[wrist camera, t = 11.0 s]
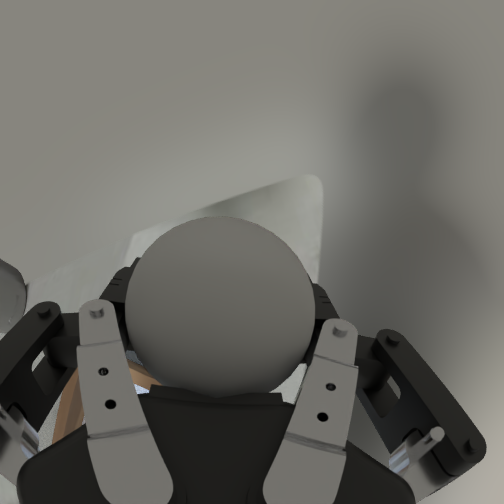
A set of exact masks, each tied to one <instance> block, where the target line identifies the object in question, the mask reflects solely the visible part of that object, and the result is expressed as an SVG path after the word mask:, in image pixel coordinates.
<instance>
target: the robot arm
mask: <svg viewBox="0 0 504 504" xmlns="http://www.w3.org/2000/svg"><path fill="white" fill-rule="evenodd" d="M140 259H141V258H139V257H137V258H136V259H135V261H134V262H133V264H132V265H131V267H124V268H122V269H121V270H119V271H118V272H117V273H116V274H115V276H114V277H113V279H112V280H111V281H110V283H109V284H108V286H107V287H106V289H105V290H104V292H103V293H102V295H101V296H100V298H99V299H96V300H91V301H88V302H86V303H85V304H83V305H82V306H81V308H80V310H79V313H61V310H60V307H59V305H58V304H57V303H55V302H50V301H46V302H41V303H39V304H37V305H35V306H34V307H33V308H32V309H31V310H30V311H28V312H27V313H26V314H25V315H24V316H23V313H24V309H25V303H26V289H25V283H24V280H23V278H22V275H21V273H20V272H19V271H18V270H17V269H16V268H14V267H13V266H11V265H9V264H8V263H6V262H4V261H3V260H1V259H0V332H1V333H7V334H6V335H5V336H4V337H3V338H2V339H1V340H0V474H1V475H3V476H4V477H5V478H6V479H7V480H9V481H10V482H11V483H13V484H14V485H15V486H16V488H17V495H18V499H19V503H20V504H416V503H417V502H419V501H421V500H422V499H424V498H425V497H427V496H429V495H431V494H433V493H435V492H436V491H438V490H440V489H441V488H443V487H444V486H446V485H448V484H449V483H451V482H452V481H453V480H455V479H457V478H458V477H459V476H461V475H462V474H464V473H465V472H466V471H468V470H469V469H471V468H472V467H473V466H475V465H476V464H477V463H479V462H480V461H481V460H482V459H483V458H484V456H485V454H486V442H485V439H484V438H483V436H482V435H481V433H480V432H479V430H478V429H477V428H476V426H475V425H474V423H473V422H472V421H471V419H470V418H469V417H468V415H467V414H466V413H465V411H464V410H463V409H462V407H461V406H460V405H459V403H458V402H457V401H456V399H454V397H453V396H452V394H451V393H450V392H449V390H448V389H447V388H446V387H445V385H444V384H443V383H442V382H441V380H440V379H439V378H438V377H437V375H436V374H435V373H434V372H433V371H432V369H431V368H430V367H429V366H428V364H427V363H426V362H425V361H424V360H423V359H422V357H421V356H420V355H419V354H418V352H417V351H416V350H415V349H414V348H413V347H412V345H411V344H410V343H409V342H408V341H407V340H406V338H405V337H404V336H403V335H401V334H400V333H398V332H396V331H394V330H390V329H383V330H380V331H379V332H378V333H377V336H376V338H370V337H365V336H361V335H358V332H357V330H356V328H355V327H354V326H353V325H352V324H351V323H349V322H347V321H345V320H342V319H340V318H339V316H338V314H337V312H336V311H335V308H334V307H333V305H332V303H331V301H330V299H329V298H328V296H327V294H326V292H325V290H324V289H323V288H322V287H320V286H319V285H318V284H313V283H312V281H311V279H310V277H309V275H308V277H309V280H310V283H311V286H312V288H313V295H314V301H315V323H314V329H313V333H312V337H311V341H310V345H309V347H308V349H307V351H306V353H305V355H304V357H303V359H302V361H301V363H300V364H304V363H306V364H307V369H306V372H305V374H304V377H303V380H302V382H301V385H300V388H299V390H298V393H297V396H296V398H295V401H294V403H293V404H291V403H287V402H283V399H282V394H281V393H245V394H239V395H233V396H227V397H220V398H215V397H210V396H207V395H203V394H200V393H197V392H193V391H190V390H187V389H184V388H177V387H169V386H162V385H155V384H151V387H150V391H149V393H143V394H137V393H136V390H135V386H134V383H133V380H132V377H131V373H130V370H129V366H128V363H127V359H126V355H125V353H126V350H131V351H134V349H133V346H132V344H131V342H130V339H129V335H128V331H127V326H126V321H125V300H126V295H127V290H128V285H129V281H130V279H131V277H132V274H133V272H134V269H135V267H136V265H137V263H138V262H139V260H140ZM307 274H308V273H307ZM22 316H23V317H22ZM42 350H43V352H44V355H45V356H44V357H43V359H42V360H41V361H40V363H39V364H38V365H37V367H36V368H35V369H34V371H33V372H32V364H33V361H34V360H35V359H36V357H37V356H38V355H39V354H40V352H41V351H42ZM77 367H78V374H79V383H80V390H81V398H82V404H83V410H84V416H85V421H86V423H85V424H84V425H82V426H80V427H79V428H77V429H76V430H74V431H73V432H71V433H70V434H68V435H66V436H65V437H63V438H62V439H60V440H58V441H57V442H55V443H54V444H52V445H50V446H49V447H47V448H46V449H44V450H42V451H41V452H40V449H39V437H38V434H37V433H38V431H39V430H40V428H41V426H42V424H43V423H44V421H45V419H46V417H47V416H48V414H49V412H50V410H51V409H52V407H53V405H54V404H55V402H56V400H57V399H58V397H59V396H60V394H61V392H62V391H63V389H64V387H65V386H66V384H67V383H68V381H69V380H70V378H71V376H72V375H73V373H74V372H75V370H76V369H77ZM390 376H392V378H393V379H394V381H395V382H396V384H397V385H398V386H399V388H400V392H401V395H400V399H398V397H397V396H396V394H395V393H394V392H393V390H392V388H391V387H390V386H389V384H388V383H387V381H388V379H389V378H390ZM355 393H356V394H357V396H358V398H359V400H360V401H361V403H362V405H363V406H364V408H365V410H366V412H367V414H368V415H369V417H370V419H371V421H372V422H373V424H374V426H375V428H376V430H377V431H378V433H379V435H380V437H381V438H382V440H383V442H384V444H385V446H386V447H387V449H388V451H389V453H390V458H389V464H390V466H389V467H388V468H387V467H385V466H384V465H382V464H381V463H379V462H378V461H376V460H375V459H374V458H372V457H371V456H369V455H368V454H366V453H365V452H363V451H362V450H361V449H359V448H358V447H356V446H355V445H353V444H352V443H351V442H349V441H348V440H347V434H348V430H349V425H350V420H351V415H352V409H353V403H354V397H355Z"/></svg>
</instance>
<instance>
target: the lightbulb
mask: <svg viewBox="0 0 504 504" xmlns="http://www.w3.org/2000/svg"><path fill="white" fill-rule="evenodd" d="M125 321H126V326H127V331H128V335H129V339H130V342H131V344H132V346H133V349H134V351H135V353H136V355H137V357H138V359H139V360H140V361H141V363H142V364H143V366H144V367H145V368H146V370H147V371H148V372H149V374H150V375H152V376H153V377H154V378H155V379H156V380H157V381H158V382H159V383H160V384H162V385H163V386H169V387H177V388H184V389H187V390H190V391H193V392H197V393H200V394H203V395H207V396H210V397H215V398H220V397H227V396H233V395H239V394H245V393H269V392H270V391H272V390H274V389H276V388H277V387H278V386H279V385H281V384H282V383H283V382H284V381H285V380H286V379H287V378H289V377H290V376H291V374H292V373H293V372H294V371H295V369H296V368H297V367H298V365H299V364H300V363H301V361H302V359H303V357H304V355H305V353H306V351H307V349H308V347H309V345H310V341H311V337H312V333H313V329H314V323H315V301H314V295H313V288H312V286H311V283H310V280H309V277H308V274H307V272H306V270H305V268H304V267H303V265H302V263H301V262H300V260H299V258H298V257H297V255H296V254H295V253H294V252H293V251H292V250H291V248H290V247H289V246H288V245H287V244H286V243H285V242H284V241H282V240H281V239H280V238H279V237H277V236H276V235H275V234H274V233H272V232H270V231H269V230H267V229H265V228H263V227H261V226H259V225H258V224H255V223H252V222H249V221H246V220H243V219H238V218H231V217H205V218H200V219H196V220H191V221H188V222H186V223H183V224H181V225H179V226H176V227H174V228H172V229H171V230H169V231H168V232H166V233H165V234H163V235H162V236H160V237H159V238H158V239H157V240H156V241H155V242H154V243H153V244H152V245H151V246H150V247H149V248H148V249H147V250H146V251H145V253H144V254H143V256H142V257H141V259H140V260H139V262H138V263H137V265H136V267H135V269H134V272H133V274H132V277H131V279H130V281H129V285H128V290H127V295H126V300H125Z"/></svg>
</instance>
